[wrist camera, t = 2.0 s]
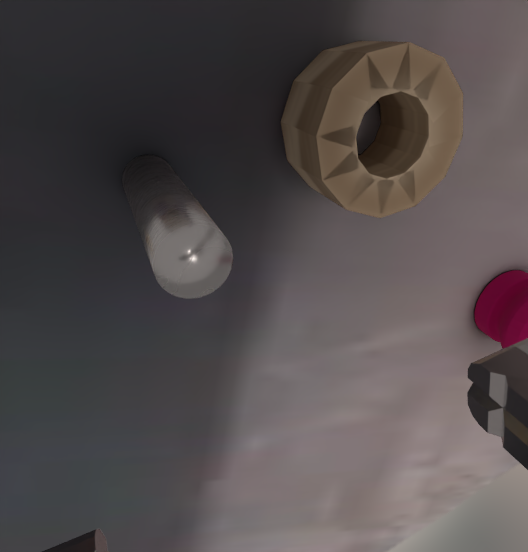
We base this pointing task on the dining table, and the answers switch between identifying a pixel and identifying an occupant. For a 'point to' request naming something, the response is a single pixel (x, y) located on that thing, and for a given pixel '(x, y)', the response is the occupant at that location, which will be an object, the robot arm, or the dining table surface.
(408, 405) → the dining table surface
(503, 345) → the pepper mill
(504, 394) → the robot arm
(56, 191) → the dining table surface
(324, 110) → the bead
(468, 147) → the dining table surface
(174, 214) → the frosted glass rod
